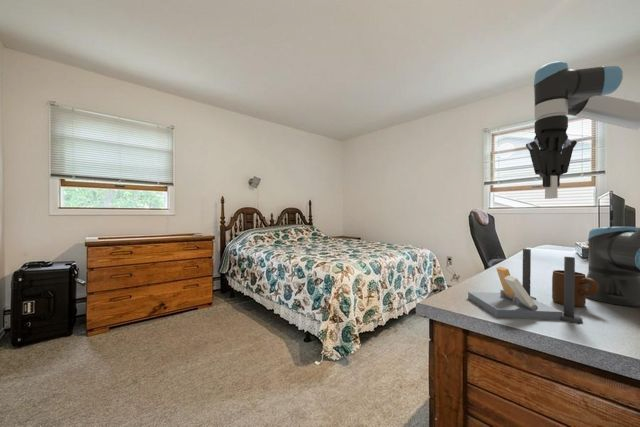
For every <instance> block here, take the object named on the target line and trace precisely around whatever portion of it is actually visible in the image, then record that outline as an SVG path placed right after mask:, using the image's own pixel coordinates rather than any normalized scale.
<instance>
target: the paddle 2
mask: <svg viewBox="0 0 640 427" xmlns="http://www.w3.org/2000/svg"><path fill="white" fill-rule="evenodd" d="M504 279H505V280H506V282H507V283H508V285H509V286H510V287H511V289H512V290H513V292H514V293H515V294H516V296H517V297H518V299H519V300H520V301H521V303H522V305H523V306H525V307H527V308H529V309H531V310H533V311H536V310H537V309H538V307H537V305H535V303H534V302H533V300H532V299H531V297H530V296H531V295H530V296H529V295H528V293H527V292H526V290H525V289H524V288H523V286H522V282H520V281H519V279H518V278H517V277H514V276H511V275H510V276H509V275H508V276H506V277H505V278H504Z"/></svg>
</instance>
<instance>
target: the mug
mask: <svg viewBox="0 0 640 427" xmlns="http://www.w3.org/2000/svg"><path fill="white" fill-rule="evenodd" d="M586 277H587V275H586V274H585V273H582V272H578V271H575V298H574V308H583V307H584V306H586V301H587V300H586V299H587V297H586V295H587V296H592V295H595V294H596V293H597V292H598V289H599V286H598V283H597V282H596V281H595V280H593V279H591V278H586ZM587 283H589V284H590V285H591V287H590V289H589V290H587V289H586V284H587ZM551 287H552V288H551V293H552V294H551V298H552V301H553V302H554V303H556V304H558V305H559V304H560V305H562V306H564V269H563V270H560V269H559V270H558V269H557V270H555V269H554V270H553V271H552V276H551Z"/></svg>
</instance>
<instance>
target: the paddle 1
mask: <svg viewBox="0 0 640 427" xmlns="http://www.w3.org/2000/svg"><path fill="white" fill-rule="evenodd" d="M496 271H497V275H498V277H499V281H500V283H501V286H502V290H504V293H505V296H506V297H507V298H509V299H511V300H513V295H516V294H515V293H514V292H513V290H512V289H511V287H510V286H509V285H508V283H507V282H506V280H505V279H504V278H505V277H506V276H508V275H509V276H511V273H510V271H509V268H506V267H503V266H499V267H496Z"/></svg>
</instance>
